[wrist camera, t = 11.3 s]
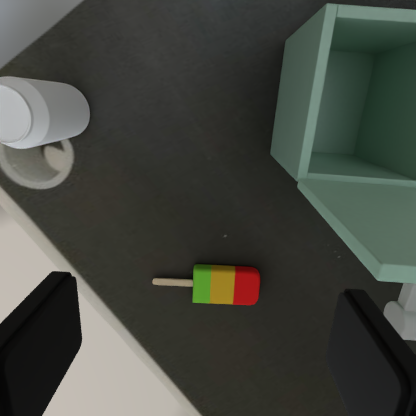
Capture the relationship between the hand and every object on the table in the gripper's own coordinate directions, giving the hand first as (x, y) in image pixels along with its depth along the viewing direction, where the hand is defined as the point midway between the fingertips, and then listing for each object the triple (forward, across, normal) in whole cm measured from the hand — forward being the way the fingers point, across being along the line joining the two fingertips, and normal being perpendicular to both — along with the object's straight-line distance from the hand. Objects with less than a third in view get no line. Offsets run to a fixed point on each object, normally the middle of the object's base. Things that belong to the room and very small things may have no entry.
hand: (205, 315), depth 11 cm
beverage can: (+30, +18, -5) cm, 35 cm away
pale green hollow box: (+30, -12, -8) cm, 33 cm away
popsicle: (+30, 0, +17) cm, 34 cm away
